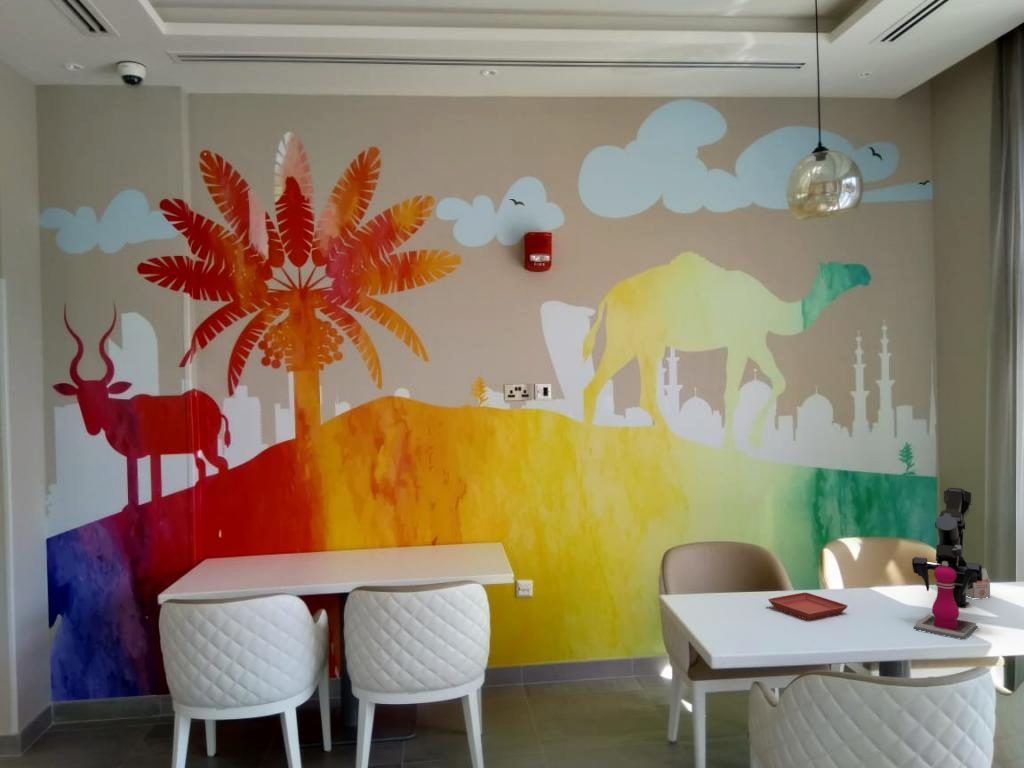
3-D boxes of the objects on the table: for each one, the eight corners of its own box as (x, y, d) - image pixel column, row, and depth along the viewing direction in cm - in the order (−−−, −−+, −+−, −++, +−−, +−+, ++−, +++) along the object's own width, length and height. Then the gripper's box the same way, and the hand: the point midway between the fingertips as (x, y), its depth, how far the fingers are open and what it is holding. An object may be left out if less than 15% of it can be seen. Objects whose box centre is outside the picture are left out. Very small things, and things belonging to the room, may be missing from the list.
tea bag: (965, 596, 271) (964, 568, 271) (981, 595, 272) (981, 567, 272) (973, 599, 268) (972, 570, 268) (990, 598, 269) (989, 569, 269)
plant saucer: (849, 615, 253) (849, 604, 253) (809, 623, 245) (809, 612, 245) (805, 601, 269) (805, 591, 269) (766, 608, 261) (766, 599, 261)
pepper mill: (964, 628, 235) (964, 562, 235) (947, 631, 232) (947, 564, 232) (943, 621, 241) (943, 557, 241) (926, 624, 239) (926, 559, 239)
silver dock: (927, 619, 246) (927, 613, 246) (977, 628, 237) (977, 622, 237) (913, 629, 236) (913, 623, 236) (965, 640, 226) (965, 633, 226)
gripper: (912, 531, 245) (907, 573, 236) (981, 537, 234) (978, 582, 225) (916, 551, 251) (911, 593, 242) (983, 558, 241) (981, 602, 232)
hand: (944, 592), depth 235 cm, fingers open, 9 cm apart
